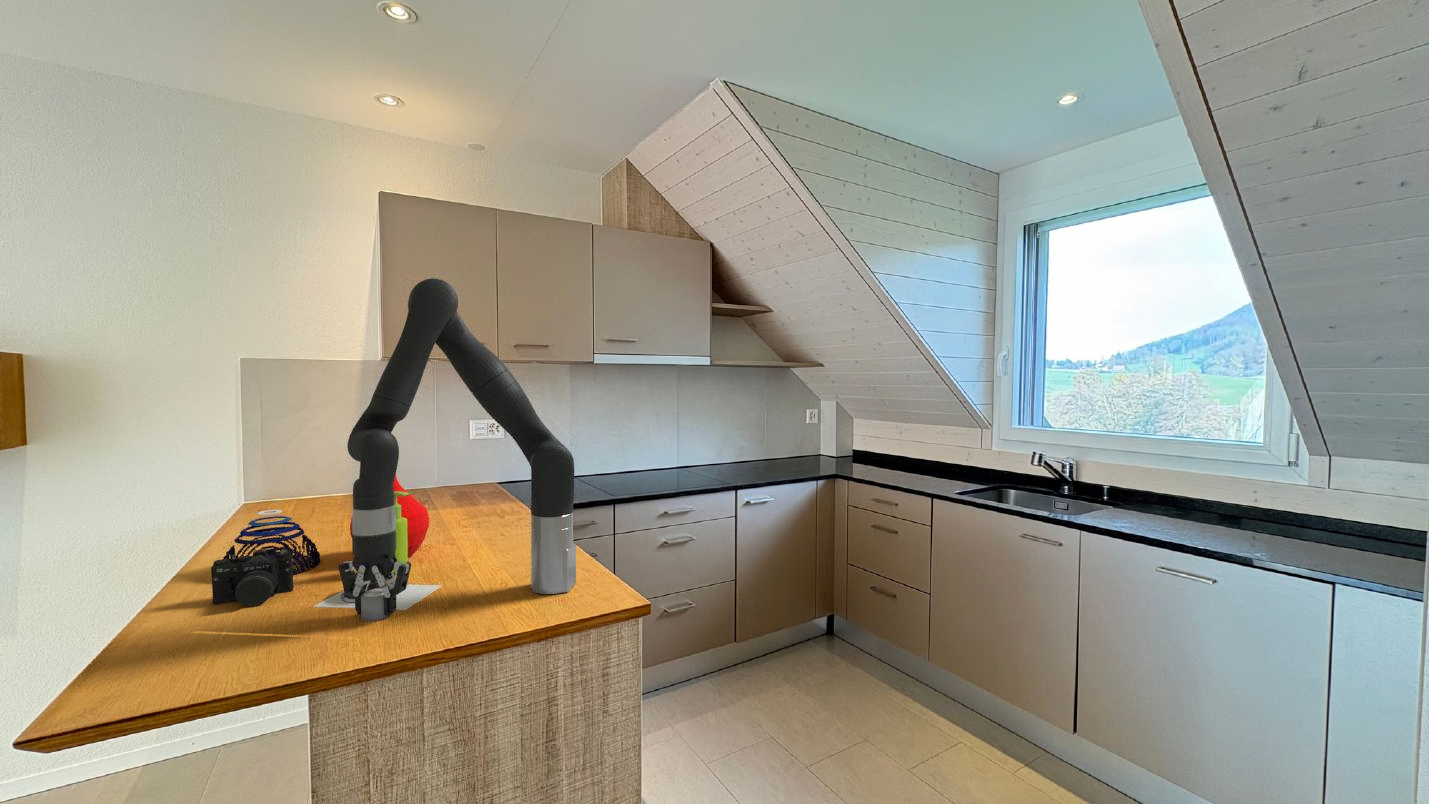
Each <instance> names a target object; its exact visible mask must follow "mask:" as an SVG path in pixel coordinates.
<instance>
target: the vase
mask: <svg viewBox="0 0 1429 804" xmlns="http://www.w3.org/2000/svg"><path fill="white" fill-rule="evenodd" d="M393 485H394V491H401V492H406V493H409V492H408V491H407V490H406V489H405V488H404V487H403V486H402V485H401V484H400V482H399V480H398V478H397V474H396V475H395V479H394V484H393ZM397 504H399V505H401V517H403V518H407V540H408V559H409V558H410V557H412V556H413V555H414V554H415V553H416V552H417V551H418V550H419V548H420V547H421V545H422V544H423V542H424V541H425V538H426V536H427V533H428V530H429V527H430V517H429V512H428V509H427V507H425V506H424V505H423V504H422V503H420V502H419V501H418V500H417V499H416V498H415V497H414V496H413V495H412V494H410V495H408V496H405V497H402V496H397ZM349 524H350V526H349V529H350V530H349V531H350V537H351V538H352V518H351V519H350V523H349Z"/></svg>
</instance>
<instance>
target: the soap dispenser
mask: <svg viewBox="0 0 1429 804" xmlns="http://www.w3.org/2000/svg"><path fill="white" fill-rule="evenodd" d="M408 495H411V494H410V492H408V493H406V492H401V491H394V508H395V514H396V551H395V556H396V558H397V561H398V562H402V563H406V562H409V558H408V540H407V518H403V517H401V505H399V504H397V496H402V497H405V496H408ZM393 572H396V569H395V568H394V569H393ZM395 576H397V574H396V573H395Z"/></svg>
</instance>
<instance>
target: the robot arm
mask: <svg viewBox="0 0 1429 804" xmlns="http://www.w3.org/2000/svg"><path fill="white" fill-rule="evenodd" d="M458 308H459V299H458V294H457V292H456V290H455V289H454V287H453V286H452V285H451V284H449V282H446V281H445V280H443V279H439V278H434V277H433V278H427V279H423V280H422V281H419V282H418V283H417V284H416V285H414V286H413V288H412V289H411V291H410V294H409V296H408V300H407V316H406V319H405V320H406V321H405V323H404V326H403V328H402V332H401V335H400V337H399V340H398V341H397V344H396V346H395V348H394V350H393V352H392V354H391V356H390V358H389V360H388V362H387V363H386V366H385V368H384V370H383V371H382V374H381V375H380V379H379V380H378V382H377V384H376V388H375V390H374V392H373V394H372V397H371V400H370V401H369V405H367V407H366V409H365V410H364V411H363V412H362V414H361V416H360V417H359V419H358V420H357V422H356V423H355V425H354V426H353V429H352V430H351V431H350V434H349V435H348V436H349V437H348V439H347V440H348V441H347V444H346V445H347V451H348V454H349V456H350V457H351V458H352V459H353V460H355V461H357V462H359V464H360V465H359V476H358V478H357V479H356V480H355V481H354V483H353V485H352V516H351V519H352V537H351V539H352V540H351V546H352V548H351V549H352V550H351V551H352V555H353V556H354V557H353V559H352V560H350V559H348V560H346V561H343V562H341V563H340V564H338V567H337V568H338V571H339V575H340V580H341V584H342V588H343V590H344V592H345V593H352V594H353V595H354V596H355V608H354V610H355V612H357V613H356V614H357V615H358V616H361V595H362V594H363V593H365V592H366V591H367V588H368V585H369V583H370V581H371V580H373V581H377V582H378V585H379V587H380V588H382V590H383V593H384V596H385V598H384V615H385V616H388V617H390V616H389V615H393V614H394V613H395V611H397V610H396V595H397V594H399V593H401V592H402V591H404V590H406V587H407V584H408V583H409V577H410V574H411V573H410V572H411V568H412V563H411V562H410V561H408V562H406V563H402V562H398V561H397V558H396V556H395V551H396V514H395V508H394V485H393V484H394V479H395V475H396V476H397V469H398V464H399V457H400V447H399V442H398V440H397V438H396V436H395V435H394V434H393V433H392V432H393V430H394V429H395V426H396V425H397V424H398V423H399V422H400V421H403V420H405V418H406V417H407V415H408V414H409V411H410V409H411V406H412V404H413V402H414V399H415V396H416V394H417V392H418V390H419V388H420V387H419V386H420V384H421V382H422V378H423V375H424V373H425V369H426V367H427V364H428V361H429V358H430V356H431V353H432V351H433V349H434V347H435V345H436V346H437V347H438V348H439V349H440V350H441V351H442V353H443V354H444V355H445V356H446V358H447V359H448V361H449V363H450V364H451V365H452V367H453V369H454V370H455V372H456V374H457V375H458V376H459V378H460V379H461V381H462V382H463V383H464V384H465V386H466V388H467V389H468V390H469V392H470V393H471V395H472V396H473V397H474V398H475V399H476V401H477V402H478V404H479V405H480V406H481V407H482V408H483V409H484V410H485V412H486V413H487V414H488V415H489V416H490V417H491V418H492V419H493V420H494V421H495V422H496V423H497V424H498V425H499V426H500V427H501V428H502V429H504V430H505V431H506V433H508V435H510V437H512V439H513V440H514V442H515V443H516V444H517V446H518V447H519V449H520V451H521V452H522V454H523V455H524V457H525V458H526V460H527V462H528V464H529V466H530V475H531V476H530V477H531V478H530V479H531V480H530V485H531V486H530V488H531V490H530V491H531V492H530V493H531V495H530V496H531V498H530V500H531V501H530V553H531V554H530V559H531V560H530V569H531V570H530V571H531V576H530V577H531V579H530V582H531V585H530V586H531V587H530V588H531V590H532V592H533V593H536V594H539V595H540V594H541V595H553V594H560V593H561V594H562V593H569V592H570V591H571V589H572V588H573V587H574V586H575V585H576V584H577V544H576V542H574V502H575V501H574V500H575V460H574V457H573V455H572V453H571V451H570V450H569V449H568V447H566V446H565V444H563V443H562V442H561V441H560V440H559V438H557V437H556V436H555V435H554V434H553V433H552V431H550V429H549V428H548V427H547V426H546V425H545V424H544V422H543V421H542V420H541V418H540V417H539V416H538V414H537V413H536V411H535V408H534V407H533V404H532V402H531V401H530V399H529V397H528V396H527V393H525V391H524V390H523V388H522V387H521V385H520V383H519V382H518V381H517V378H516V377H515V376H514V375H513V373H512V372H511V371H510V370H509V368H508V367H507V366H506V364H504V362H503V361H502V360H501V359H500V358H499V357H498V356H496V354H495V353H493V352H492V351H491V350H490V349H489V348H488V347H486V346H485V345H484V344H483V343H482V342H480V341H479V340H478V339H477V338H476V337H475V335H474V334H473V332H472V331H471V330H470V329H469V328H468V326H467V325H466V324H465V322H464V320H463V319H462V317H461V315H460V314H459V312H458ZM394 568H395V569H396V572H395V573H396V574H397V575H395V576H394V574H393V569H394ZM355 571H356V572H357V574H358V575H357V578H356V575H355V574H356V572H355ZM385 578H387V580H386V581H385ZM575 583H576V584H575ZM574 584H575V585H574ZM572 586H573V587H572ZM569 590H570V591H569ZM568 591H569V592H568Z"/></svg>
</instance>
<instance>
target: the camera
mask: <svg viewBox="0 0 1429 804" xmlns="http://www.w3.org/2000/svg"><path fill="white" fill-rule="evenodd" d="M279 551H280V550H279ZM247 555H248V554H247ZM231 556H232V558H230V559H227V558H226V559H223V558H222V559H217V560H214V561H213V564H212V566H211V567H210V572H211V573H210V574H211V588H212V589H211V590H212V591H211V592H212V595H211V596H212V597H211V598H212V604H213V605H219V604H226V603H228V602H229V603H232V602H238V604H240V605H242V606H245V607H249V608H251V607H252V608H253V607H258V606H260V605H262V604H264V603H265V602H267V601H268V600H269V599H270V598H271V597H275V595H279V594H287V593H291V592H293V591H294V575H293V568H294V565H293V564H292V562H293V559H292V558H293V557H292V555H291V552H290V551H288V550H283V549H282V551H280V552H279V553H277V554H276V556H268V555H267V551H266V549H262V550H259V549H255V550H254V551H253V552H252V555H248V556H246V555H244V556H241V555H240V556H241V557H240V556H238V558H236V557H235V556H236V553H235V554H234V555H231ZM251 556H253V557H252V558H251Z"/></svg>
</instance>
